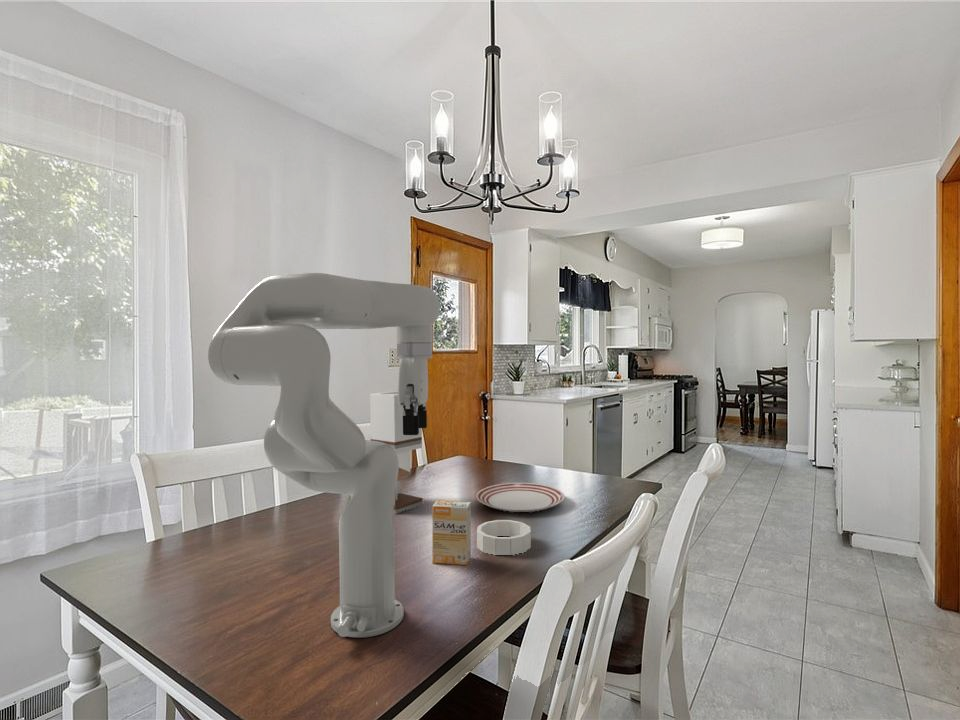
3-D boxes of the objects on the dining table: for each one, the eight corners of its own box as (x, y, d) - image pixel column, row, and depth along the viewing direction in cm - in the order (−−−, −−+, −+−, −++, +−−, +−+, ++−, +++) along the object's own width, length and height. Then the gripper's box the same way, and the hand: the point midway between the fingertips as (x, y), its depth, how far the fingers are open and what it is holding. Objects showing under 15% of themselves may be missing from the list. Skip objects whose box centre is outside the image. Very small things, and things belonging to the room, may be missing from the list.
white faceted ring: (531, 556, 116) (531, 538, 116) (475, 555, 117) (475, 538, 117) (529, 535, 129) (529, 520, 129) (479, 535, 130) (479, 519, 130)
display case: (395, 514, 148) (394, 395, 148) (371, 507, 154) (370, 393, 154) (422, 504, 157) (421, 392, 157) (398, 499, 164) (397, 391, 163)
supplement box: (431, 564, 112) (430, 505, 112) (436, 555, 117) (436, 499, 117) (468, 566, 111) (467, 507, 111) (471, 557, 116) (471, 500, 116)
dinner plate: (556, 522, 140) (555, 510, 140) (463, 513, 149) (463, 502, 149) (570, 496, 166) (570, 485, 166) (491, 489, 175) (491, 480, 175)
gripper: (405, 352, 117) (406, 425, 117) (387, 351, 100) (388, 438, 100) (437, 351, 117) (438, 425, 117) (424, 351, 100) (425, 438, 100)
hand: (415, 431), depth 109 cm, fingers open, 9 cm apart
